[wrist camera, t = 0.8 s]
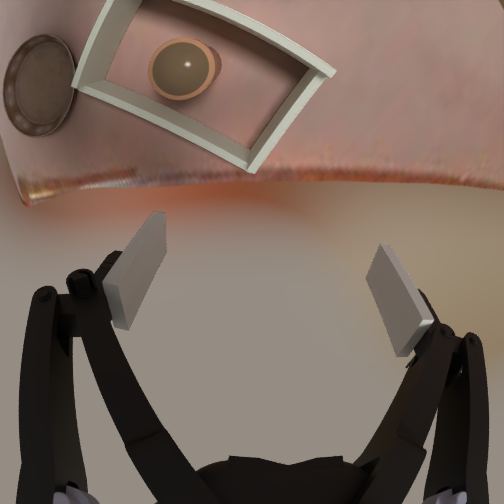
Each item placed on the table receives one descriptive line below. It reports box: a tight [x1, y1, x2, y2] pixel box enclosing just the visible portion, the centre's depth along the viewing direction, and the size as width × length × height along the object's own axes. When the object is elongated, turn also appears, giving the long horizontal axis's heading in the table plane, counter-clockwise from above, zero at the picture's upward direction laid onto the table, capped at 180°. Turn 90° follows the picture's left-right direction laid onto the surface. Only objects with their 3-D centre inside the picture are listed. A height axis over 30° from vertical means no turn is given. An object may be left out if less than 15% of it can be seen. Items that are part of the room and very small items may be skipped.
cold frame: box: [71, 0, 336, 174], centre depth 25 cm, size 16×26×9 cm, turn 58°
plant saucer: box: [3, 34, 76, 137], centre depth 27 cm, size 18×18×3 cm
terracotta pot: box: [148, 38, 222, 100], centre depth 26 cm, size 7×7×8 cm
